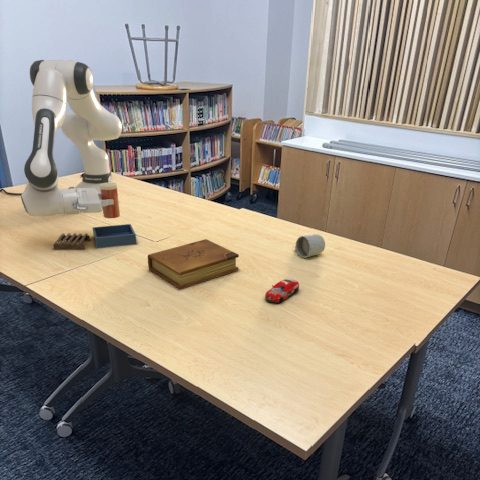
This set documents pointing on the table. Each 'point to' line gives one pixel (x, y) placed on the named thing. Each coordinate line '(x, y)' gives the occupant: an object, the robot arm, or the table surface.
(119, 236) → the tray
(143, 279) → the table surface
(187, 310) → the table surface
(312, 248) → the ceramic mug
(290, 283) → the race car
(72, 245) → the drying rack
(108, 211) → the cup
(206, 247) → the diary
